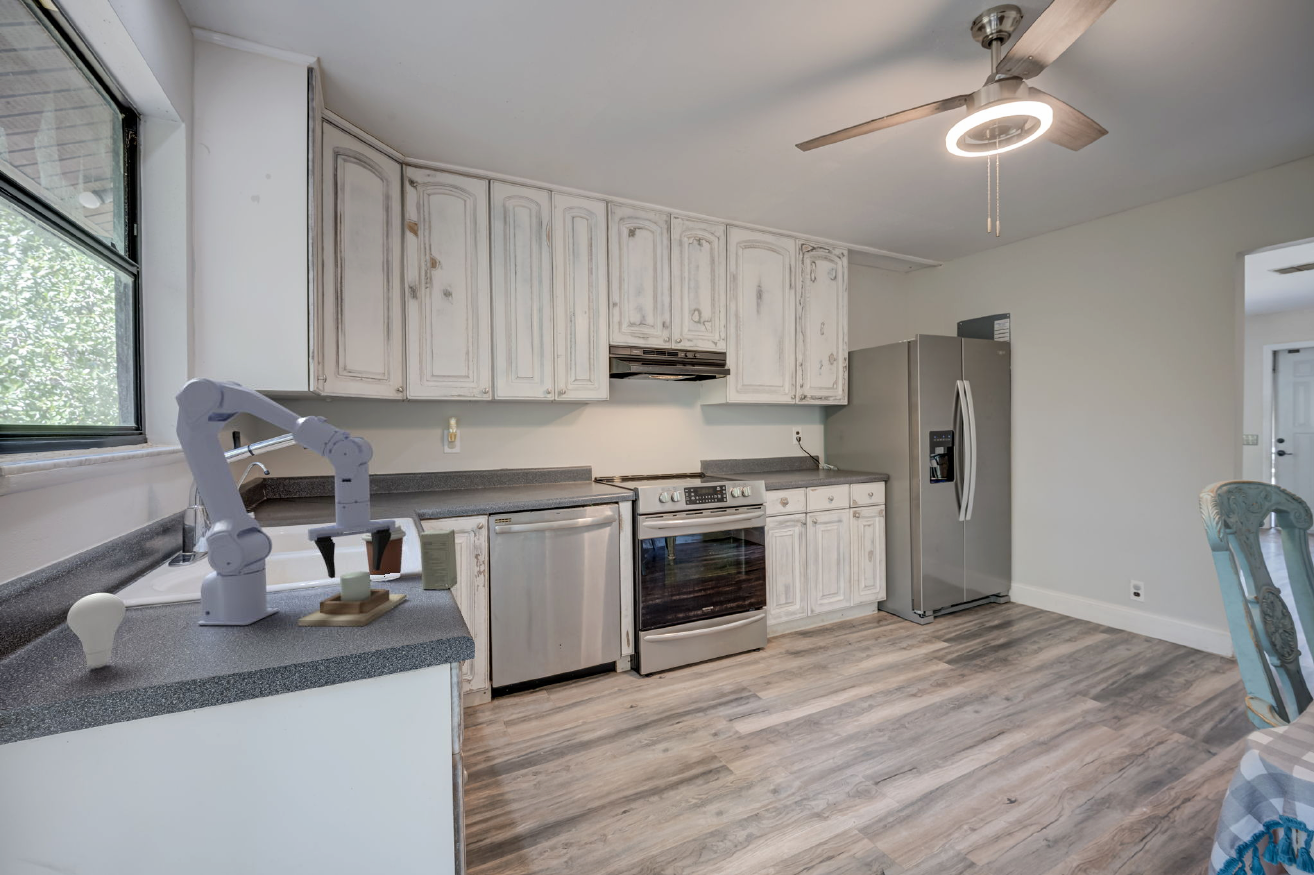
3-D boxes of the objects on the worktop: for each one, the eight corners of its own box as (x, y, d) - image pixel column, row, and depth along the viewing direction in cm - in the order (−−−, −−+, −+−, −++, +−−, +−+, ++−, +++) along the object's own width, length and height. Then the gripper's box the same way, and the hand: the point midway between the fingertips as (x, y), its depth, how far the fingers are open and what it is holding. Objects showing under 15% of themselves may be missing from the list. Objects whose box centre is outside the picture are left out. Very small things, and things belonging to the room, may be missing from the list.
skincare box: (457, 583, 125) (456, 528, 124) (451, 589, 120) (449, 532, 120) (428, 584, 125) (426, 529, 124) (420, 590, 120) (419, 533, 120)
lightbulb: (57, 675, 81) (54, 599, 81) (105, 657, 87) (102, 586, 87) (92, 677, 80) (89, 600, 80) (138, 659, 86) (135, 588, 86)
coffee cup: (405, 581, 128) (404, 528, 127) (360, 585, 125) (358, 531, 124) (408, 571, 136) (406, 521, 136) (366, 575, 133) (364, 524, 133)
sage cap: (335, 610, 105) (334, 578, 104) (351, 602, 110) (350, 571, 109) (360, 610, 104) (359, 578, 104) (376, 602, 109) (375, 571, 109)
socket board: (298, 625, 100) (297, 608, 100) (349, 599, 115) (348, 584, 115) (363, 625, 99) (363, 609, 99) (406, 599, 114) (406, 584, 114)
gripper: (312, 507, 99) (315, 584, 99) (400, 499, 108) (401, 569, 109) (304, 503, 104) (306, 577, 104) (388, 496, 114) (390, 563, 114)
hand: (354, 573), depth 107 cm, fingers open, 7 cm apart
